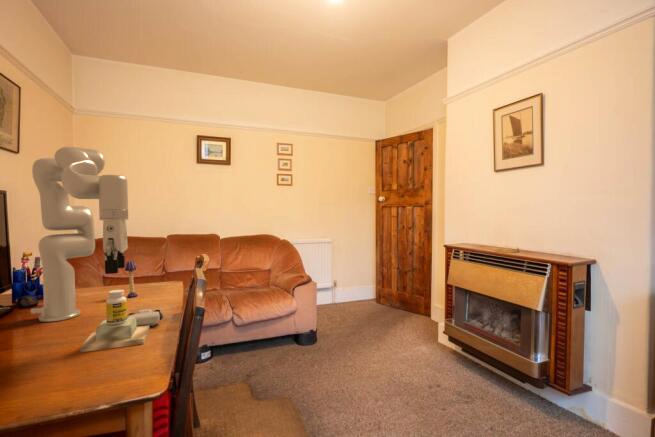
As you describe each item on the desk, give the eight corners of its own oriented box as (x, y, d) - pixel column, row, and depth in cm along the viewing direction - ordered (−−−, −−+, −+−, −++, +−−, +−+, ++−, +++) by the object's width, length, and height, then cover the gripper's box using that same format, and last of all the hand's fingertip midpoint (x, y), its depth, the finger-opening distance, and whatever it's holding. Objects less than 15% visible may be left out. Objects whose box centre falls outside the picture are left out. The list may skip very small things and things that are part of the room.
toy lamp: (125, 298, 156) (124, 262, 155) (126, 296, 160) (125, 261, 159) (137, 297, 158) (136, 261, 158) (137, 295, 162) (136, 260, 162)
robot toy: (126, 323, 124) (122, 333, 111) (125, 310, 124) (122, 319, 111) (163, 317, 130) (164, 326, 116) (162, 305, 130) (163, 313, 117)
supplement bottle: (112, 326, 101) (111, 293, 101) (103, 323, 104) (102, 291, 104) (130, 321, 106) (129, 290, 106) (121, 318, 109) (120, 288, 108)
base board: (80, 352, 96) (79, 333, 96) (93, 336, 108) (92, 319, 108) (143, 343, 102) (143, 325, 102) (149, 329, 114) (149, 313, 114)
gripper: (122, 215, 97) (123, 274, 98) (133, 214, 113) (134, 265, 114) (91, 216, 95) (93, 276, 95) (107, 215, 111) (108, 267, 111)
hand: (115, 270), depth 105 cm, fingers open, 9 cm apart
